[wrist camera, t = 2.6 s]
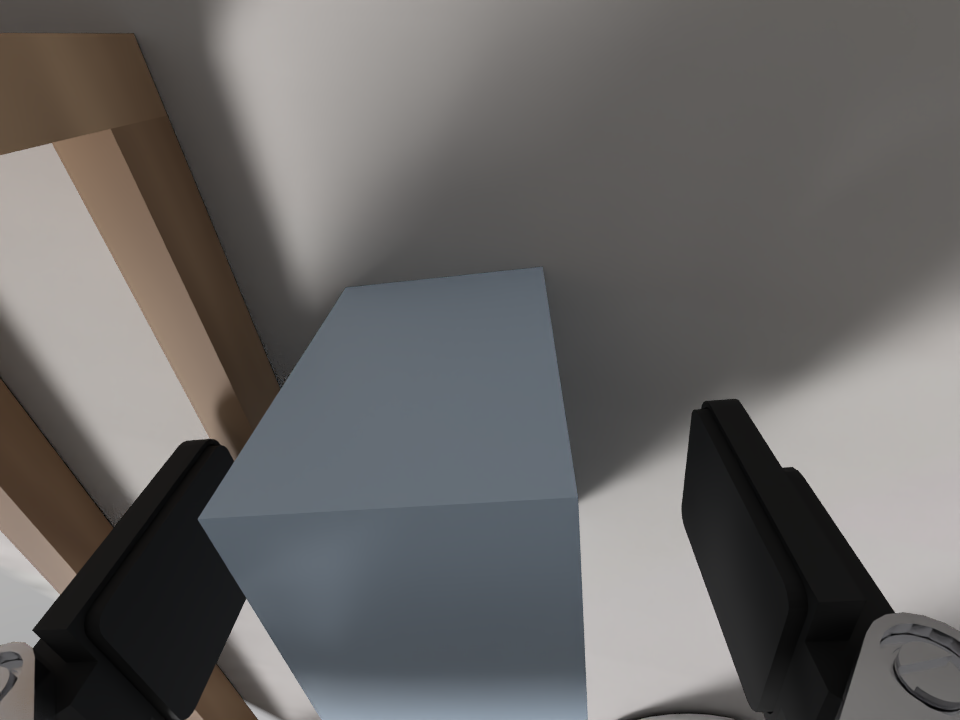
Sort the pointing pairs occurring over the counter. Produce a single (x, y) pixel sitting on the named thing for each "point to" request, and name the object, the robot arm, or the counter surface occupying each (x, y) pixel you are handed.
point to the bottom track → (145, 267)
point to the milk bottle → (686, 717)
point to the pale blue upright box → (417, 508)
